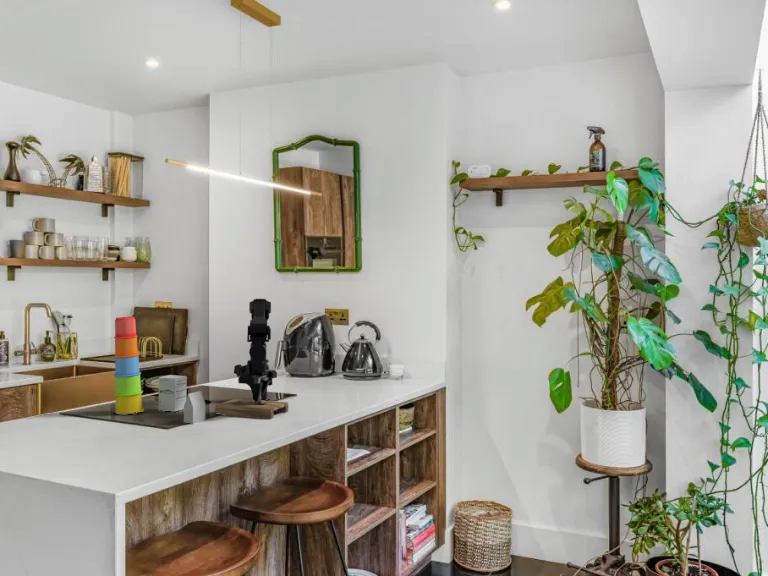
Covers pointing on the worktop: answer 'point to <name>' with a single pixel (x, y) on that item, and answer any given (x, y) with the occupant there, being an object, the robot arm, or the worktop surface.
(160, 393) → the supplement box
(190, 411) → the grey gabled carton
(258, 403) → the tee peg
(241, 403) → the keyhole board
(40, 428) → the worktop surface
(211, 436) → the worktop surface
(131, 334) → the stacking cups
